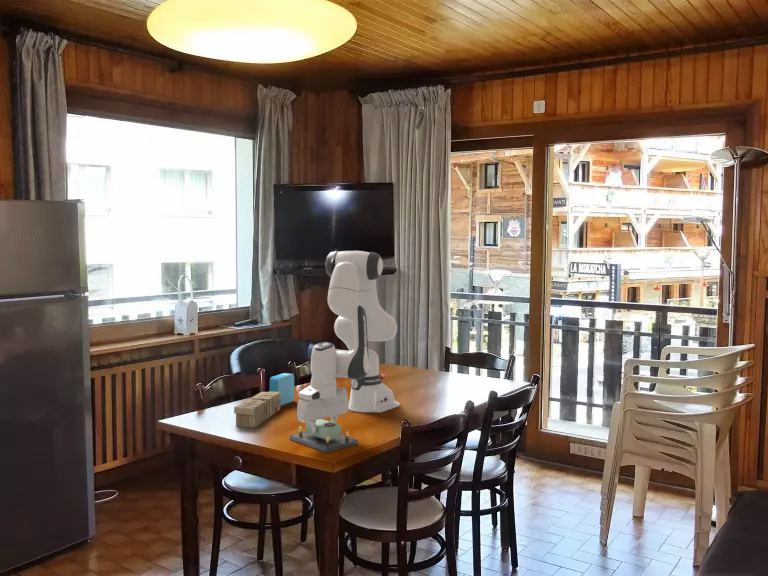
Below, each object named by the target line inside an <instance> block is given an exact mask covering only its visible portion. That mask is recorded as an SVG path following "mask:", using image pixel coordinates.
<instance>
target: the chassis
mask: <svg viewBox="0 0 768 576" xmlns="http://www.w3.org/2000/svg"><path fill="white" fill-rule="evenodd" d="M344 432H345V433H344V434H341V437H338V438H335V439H331V440H330V436H329V435H327V436H326V440H325V439H323V438H320V437H317V436H314V435H311V434H308V433H306V431H303V426H300V425H299V426H298V433H294V434H290V435H289V441H293V442H295V443H298V444H301V445H304V446H306V447H310V448H311V449H315V450H318V451H320V452H323V453H329V452H334V451H337V450H341V449H344V448H349V447H352V446H356V445H358V444H359V439H356V438H353V437H351V436H349V435H350V432H349V430H345V431H344Z"/></svg>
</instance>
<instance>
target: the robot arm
mask: <svg viewBox="0 0 768 576" xmlns="http://www.w3.org/2000/svg"><path fill="white" fill-rule="evenodd" d="M324 264H325V265H324V266H325V272H326V274H327V276H329V278H330V280H329V286H328V291H327V292H328V293H327V305H328V307H329V309H330V310H331V312H333V313H334V314H335V315H338V316H337V318H336V319H335V321H334V324H333V329H334V333H335V335H336V336H337V338H339V339H340V340H341V341H342V342H343V343H344V344H345V345H346V347H347V349H348V350H345V349H339V348H336V347H335V344H334V343H332V342H327V341H324V342H323V341H322V342H318V343H316V344H314V345H313V346H312V350H311V355H310V373H311V379H310V385H308V386H306V387H305V388H303V389H302V390H300V391H299V392H298V398H300V399H299V400H298V402H297V407H296V417H297V420H298V422H301V423H306V422H309V423H310V425H311V427H312V432H313V433H316V432H318V427H316V425H315V423H316V420H318V419H323V420H324V419H326V418H327V419H328V418H331V420H330V422H332V423H336V424H337V420H338V418H339V415H344V414H347V413H348V412H349V411H352V412H356V413H383V412H386V411H389V410H392V409H395V408H397V407H400V406H401V403H400V402H398V401H397V400H395V394H394V392H393V390H392V389H390V388H389V387H388V386H386V385H385V384H384V383H383V381H382V380H384V381H385V380H386V379H387V375H386V374H384V373H382V374H380V371H379V370H380V358H379V357H380V356H379V355H378V354H377V352H376V351H374V350H373V349H371V348H369V347H368V346H369V345H368V344H369V342H386V341H390V340H392V341H393V339H394V337H395V336H396V334H397V331H398V324H397V321H396V319H395V318H394V317H393V316H392V315H390V313H388V312H386V311H385V310H384V308H383V307H382V306H381V304H380V302H379V301H380V300H379V297H378V292H377V291H378V290H377V279H379V278H380V277H381V275H382V272H383V269H384V261H383V259H382V257H381V255H380V254H379V253H377V252H374V251H370V252H368V251H364V250H341V251H340V250H334V251H330V252H329V253H328V255H327V256H326V258H325V263H324ZM336 378H343V379H344V378H345V379H350V386H351V388H350V395H349V399H348V390H347V388H345V387H343V386H340V387H337V379H336Z"/></svg>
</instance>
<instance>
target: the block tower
mask: <svg viewBox="0 0 768 576" xmlns="http://www.w3.org/2000/svg"><path fill="white" fill-rule="evenodd" d="M279 411H281V406H280V392H270V390H269V391H261V392H259V393H257V394H255V395H253V396H252V397H250V399H249V398H248V399H247V400H245V401H243V402H241V403H239V404H238V405H234V407H233V413H234V415H235V427H238V428H257V427H258V426H259V425H261V424H262V423H264V422H265V421H266V420H267V419H269V418H271V417H272V416H273V415H275V414H276V413H278V412H279Z"/></svg>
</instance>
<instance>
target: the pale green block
mask: <svg viewBox="0 0 768 576" xmlns="http://www.w3.org/2000/svg"><path fill="white" fill-rule="evenodd" d="M315 425H316V427H318V432H316V433H313V432H312V427H311V425H310V423H309V422H305V432H306V433H308V434H311V435H314V436H317V437H320V438H323V439H325V440H326V436H327V435H329V436H330V440H331V439H335V438H338V437H341V435H342V425H341V424H338V423H337V422H336V423H332V422H331V421H329V420H327V419H326V420H325V419H324V418H323V419H318V420H316V423H315Z"/></svg>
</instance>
